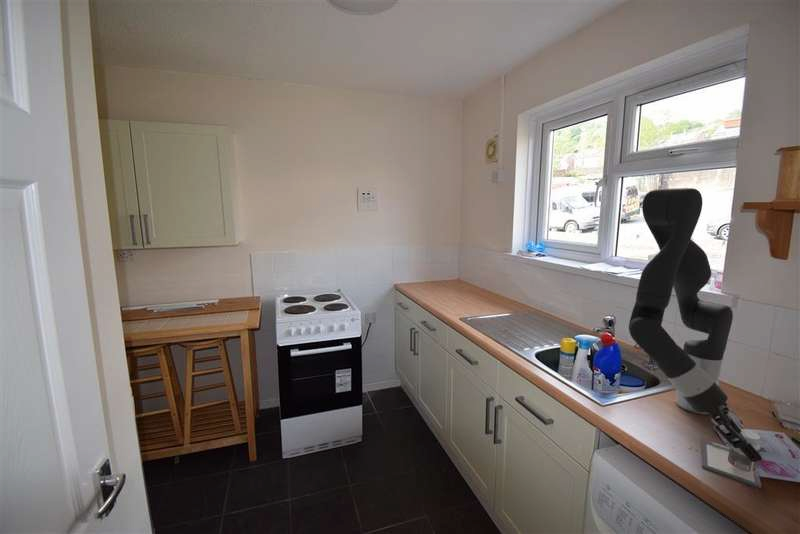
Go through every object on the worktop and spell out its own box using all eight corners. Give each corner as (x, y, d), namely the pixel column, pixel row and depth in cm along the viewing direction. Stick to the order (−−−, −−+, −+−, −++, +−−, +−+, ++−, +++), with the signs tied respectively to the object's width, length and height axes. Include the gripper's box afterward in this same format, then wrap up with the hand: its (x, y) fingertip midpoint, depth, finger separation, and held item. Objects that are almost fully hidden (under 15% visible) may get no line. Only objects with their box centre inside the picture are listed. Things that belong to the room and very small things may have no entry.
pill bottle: (741, 458, 85) (747, 426, 84) (761, 473, 81) (768, 440, 79) (721, 458, 85) (728, 426, 84) (740, 473, 80) (748, 440, 79)
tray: (701, 442, 94) (701, 437, 94) (753, 459, 88) (754, 454, 88) (702, 467, 85) (702, 462, 85) (761, 488, 79) (762, 483, 78)
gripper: (713, 392, 79) (781, 466, 73) (711, 369, 90) (769, 433, 84) (679, 405, 83) (741, 476, 78) (681, 382, 94) (735, 443, 89)
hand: (755, 453), depth 81 cm, fingers closed on pill bottle, 4 cm apart
